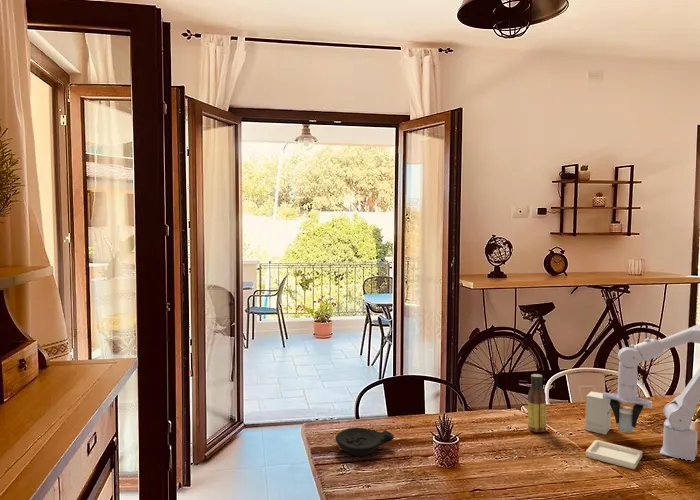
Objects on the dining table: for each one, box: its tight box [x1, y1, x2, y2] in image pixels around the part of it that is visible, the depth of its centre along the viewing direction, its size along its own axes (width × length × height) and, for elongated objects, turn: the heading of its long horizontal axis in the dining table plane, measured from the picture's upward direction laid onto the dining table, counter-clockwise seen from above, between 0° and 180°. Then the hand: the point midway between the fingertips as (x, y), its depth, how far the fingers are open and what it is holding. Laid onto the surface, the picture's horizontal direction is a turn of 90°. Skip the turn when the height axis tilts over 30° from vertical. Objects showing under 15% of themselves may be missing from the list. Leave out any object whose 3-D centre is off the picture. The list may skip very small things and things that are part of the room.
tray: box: [585, 439, 643, 470], centre depth 172 cm, size 14×12×2 cm
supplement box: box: [584, 391, 612, 435], centre depth 195 cm, size 7×7×13 cm
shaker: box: [617, 405, 634, 433], centre depth 180 cm, size 5×5×7 cm
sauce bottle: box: [527, 373, 547, 433], centre depth 193 cm, size 6×6×20 cm
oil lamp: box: [335, 427, 395, 457], centre depth 174 cm, size 15×20×5 cm
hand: (625, 424), depth 180 cm, fingers closed on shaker, 4 cm apart
